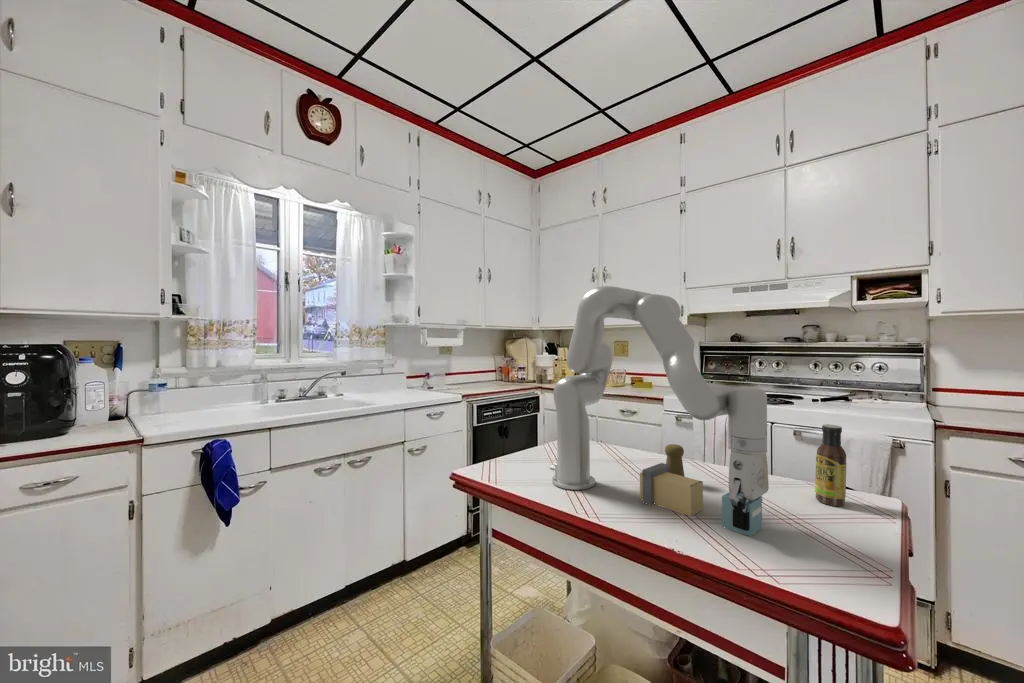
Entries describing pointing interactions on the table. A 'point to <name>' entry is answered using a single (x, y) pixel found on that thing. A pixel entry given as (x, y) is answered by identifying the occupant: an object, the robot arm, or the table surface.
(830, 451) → the sauce bottle
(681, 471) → the brown knobbed peg
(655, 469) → the tan oblong box
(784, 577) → the table surface
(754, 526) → the teal box
